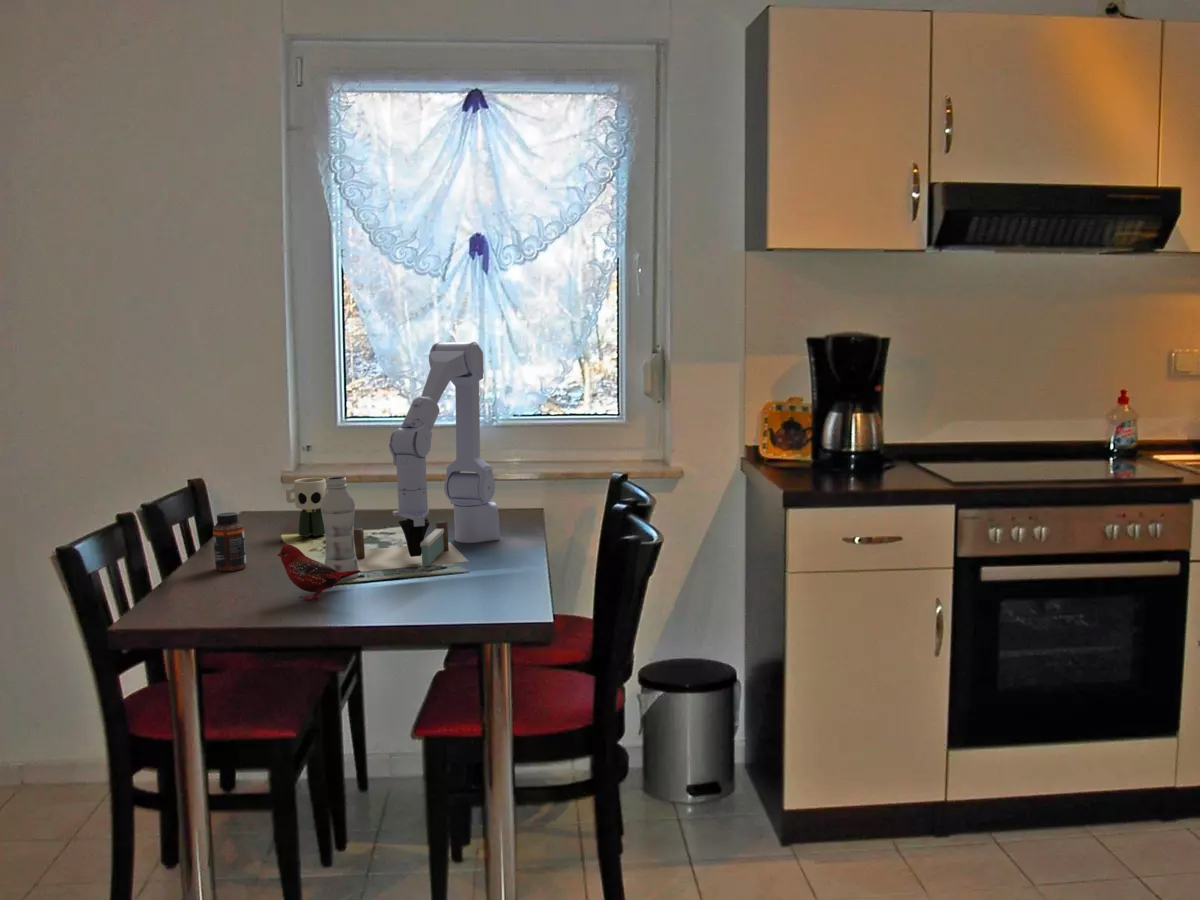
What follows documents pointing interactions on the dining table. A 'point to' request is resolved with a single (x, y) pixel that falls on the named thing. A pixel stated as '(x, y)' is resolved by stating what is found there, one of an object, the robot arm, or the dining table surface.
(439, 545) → the gate
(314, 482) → the character mug
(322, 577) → the decorative bird figurine
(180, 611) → the dining table surface
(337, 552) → the plastic bottle
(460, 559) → the gate frame
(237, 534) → the supplement bottle
